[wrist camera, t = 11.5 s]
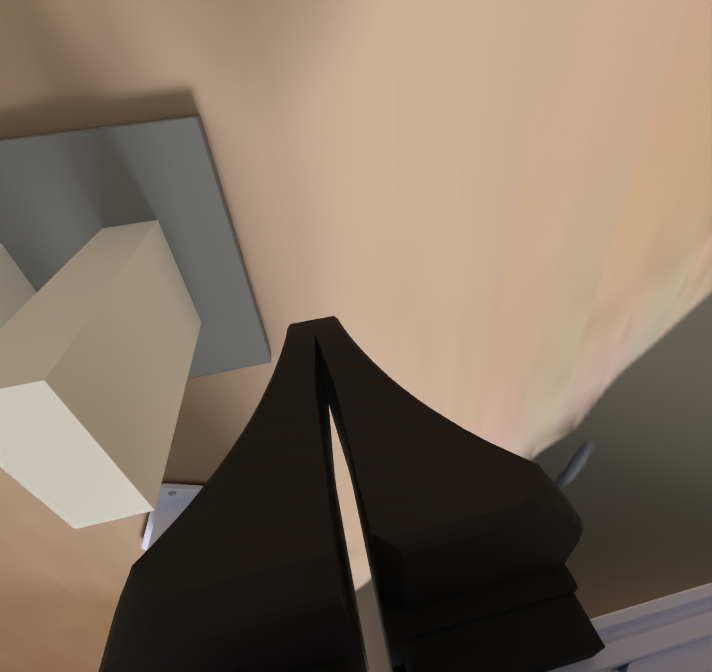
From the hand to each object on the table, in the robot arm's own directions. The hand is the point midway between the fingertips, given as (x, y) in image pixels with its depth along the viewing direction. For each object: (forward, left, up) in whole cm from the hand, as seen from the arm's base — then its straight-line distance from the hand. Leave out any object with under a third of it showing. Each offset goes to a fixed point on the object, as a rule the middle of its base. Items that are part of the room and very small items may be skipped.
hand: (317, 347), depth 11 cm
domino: (+5, +3, -7) cm, 9 cm away
